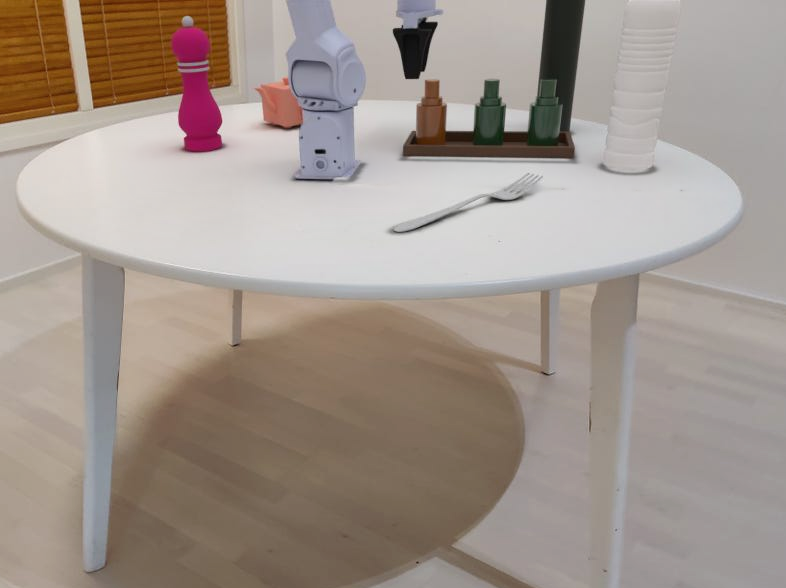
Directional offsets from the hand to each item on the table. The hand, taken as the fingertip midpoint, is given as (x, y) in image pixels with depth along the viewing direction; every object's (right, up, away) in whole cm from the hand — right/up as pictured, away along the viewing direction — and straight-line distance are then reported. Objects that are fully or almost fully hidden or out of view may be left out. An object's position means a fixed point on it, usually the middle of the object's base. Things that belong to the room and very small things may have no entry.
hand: (415, 75), depth 111 cm
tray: (+11, -13, -2) cm, 17 cm away
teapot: (-21, -1, +22) cm, 31 cm away
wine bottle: (+24, -7, +7) cm, 26 cm away
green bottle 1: (+11, -12, -3) cm, 17 cm away
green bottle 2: (+19, -13, -4) cm, 23 cm away
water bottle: (+29, -18, -12) cm, 36 cm away
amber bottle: (+2, -12, -1) cm, 12 cm away
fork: (+4, -27, -26) cm, 37 cm away
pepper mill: (-35, -9, +8) cm, 37 cm away
